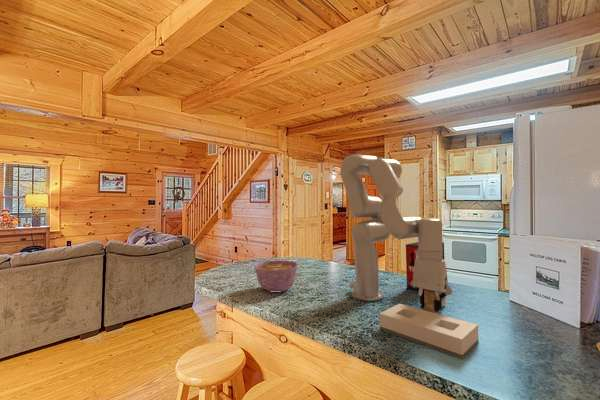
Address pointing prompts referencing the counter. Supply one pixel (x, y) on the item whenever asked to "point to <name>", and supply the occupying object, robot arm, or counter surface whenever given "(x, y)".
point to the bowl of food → (276, 274)
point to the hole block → (431, 329)
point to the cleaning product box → (412, 262)
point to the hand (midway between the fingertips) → (430, 308)
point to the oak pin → (429, 300)
